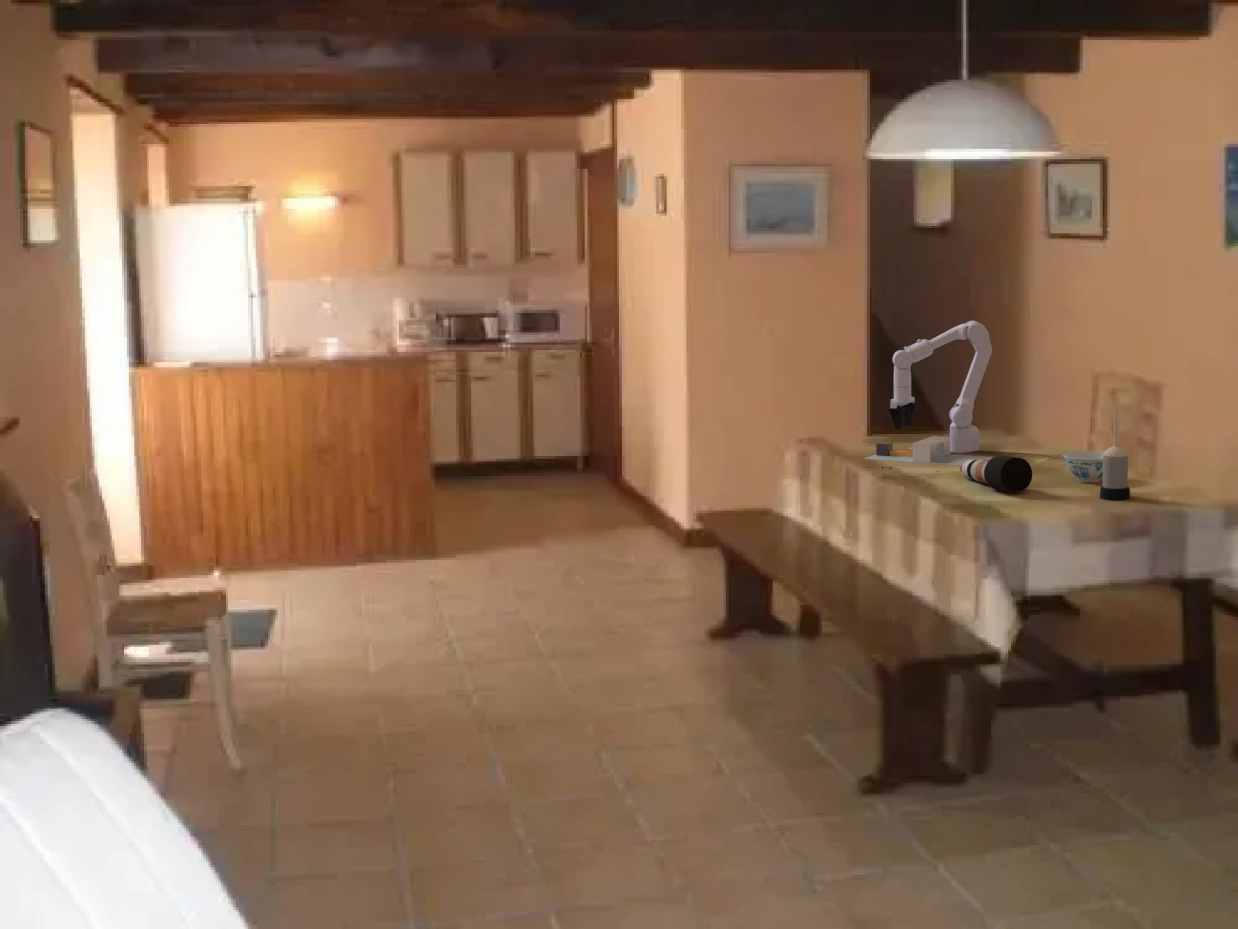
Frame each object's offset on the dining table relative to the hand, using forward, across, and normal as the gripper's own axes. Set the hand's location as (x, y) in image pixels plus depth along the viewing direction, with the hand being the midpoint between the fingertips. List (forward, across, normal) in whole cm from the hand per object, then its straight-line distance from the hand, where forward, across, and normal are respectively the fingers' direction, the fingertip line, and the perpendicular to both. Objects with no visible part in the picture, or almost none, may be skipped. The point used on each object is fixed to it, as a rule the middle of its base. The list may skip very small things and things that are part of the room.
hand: (902, 426), depth 519 cm
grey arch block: (+9, +7, +13) cm, 18 cm away
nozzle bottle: (+10, +43, +85) cm, 96 cm away
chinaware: (+10, +21, +70) cm, 74 cm away
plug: (+9, +7, +1) cm, 11 cm away
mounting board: (+9, +7, +13) cm, 17 cm away
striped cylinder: (+10, +39, +46) cm, 61 cm away
